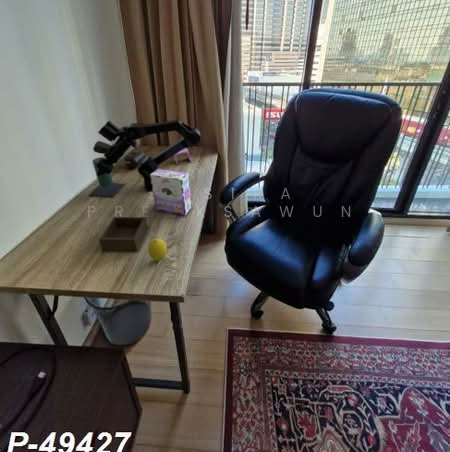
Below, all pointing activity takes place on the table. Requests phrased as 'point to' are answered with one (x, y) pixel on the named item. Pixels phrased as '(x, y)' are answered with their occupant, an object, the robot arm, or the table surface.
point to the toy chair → (182, 152)
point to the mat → (107, 190)
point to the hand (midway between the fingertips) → (99, 172)
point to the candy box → (171, 191)
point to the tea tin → (102, 179)
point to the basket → (124, 234)
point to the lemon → (157, 249)
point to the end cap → (134, 159)
